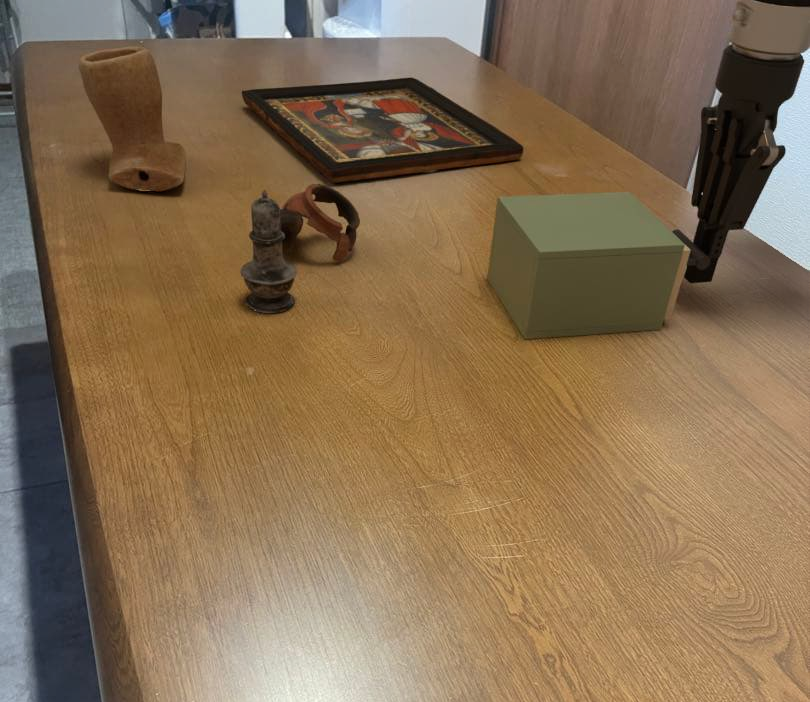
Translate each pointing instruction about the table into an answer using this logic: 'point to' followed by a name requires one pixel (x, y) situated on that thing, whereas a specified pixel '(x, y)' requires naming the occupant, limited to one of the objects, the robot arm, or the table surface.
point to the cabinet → (582, 264)
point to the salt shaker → (268, 261)
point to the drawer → (689, 258)
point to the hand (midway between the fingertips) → (697, 279)
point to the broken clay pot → (319, 218)
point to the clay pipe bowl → (132, 118)
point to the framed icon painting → (379, 128)
